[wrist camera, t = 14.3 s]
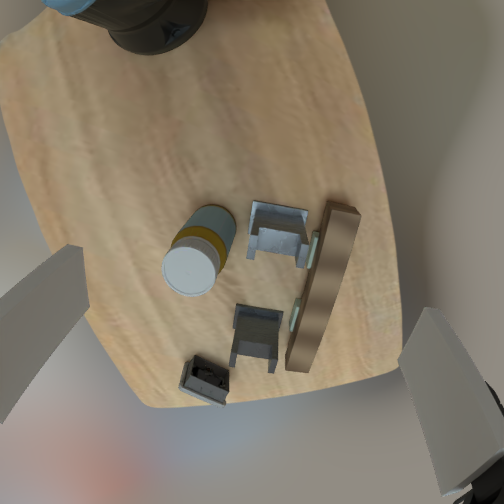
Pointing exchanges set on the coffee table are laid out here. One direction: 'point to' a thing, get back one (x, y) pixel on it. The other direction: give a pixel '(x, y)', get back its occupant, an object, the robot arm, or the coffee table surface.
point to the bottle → (199, 251)
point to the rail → (322, 284)
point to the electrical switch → (205, 381)
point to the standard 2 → (278, 231)
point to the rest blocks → (308, 263)
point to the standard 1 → (256, 334)
